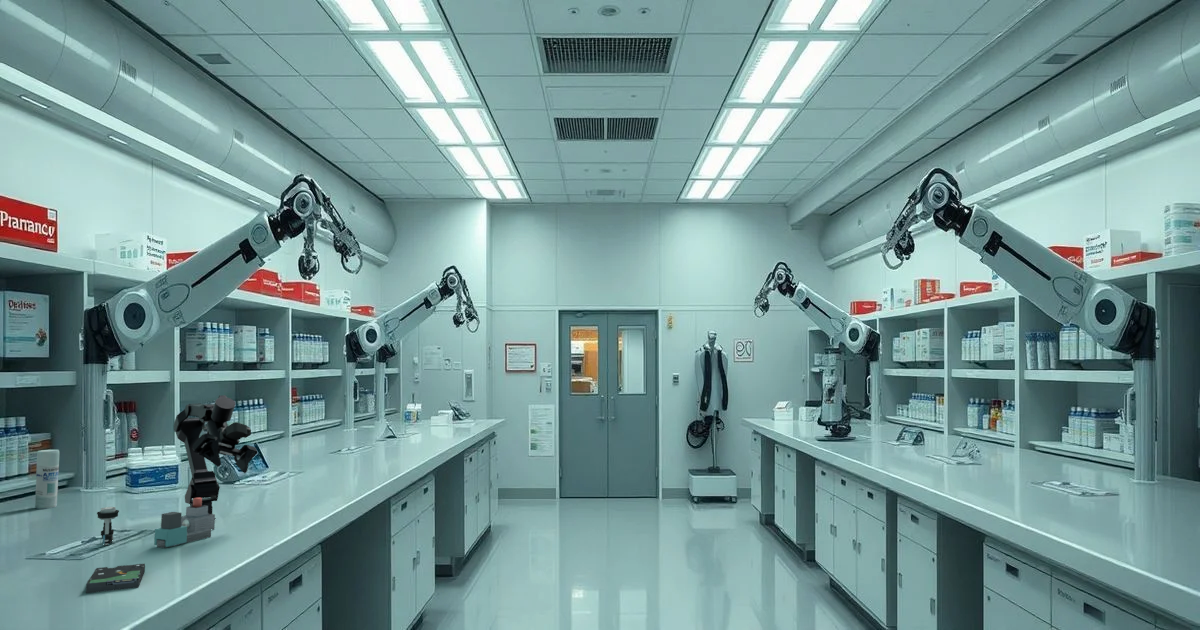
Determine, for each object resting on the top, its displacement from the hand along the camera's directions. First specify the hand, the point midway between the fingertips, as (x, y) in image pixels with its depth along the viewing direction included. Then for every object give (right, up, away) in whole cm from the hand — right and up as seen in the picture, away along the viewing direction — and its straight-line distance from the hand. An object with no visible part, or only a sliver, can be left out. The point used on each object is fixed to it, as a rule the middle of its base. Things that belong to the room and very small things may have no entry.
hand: (232, 468), depth 228 cm
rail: (-9, -19, -10) cm, 23 cm away
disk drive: (-3, -17, -50) cm, 53 cm away
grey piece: (-14, -20, +5) cm, 25 cm away
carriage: (-11, -18, -14) cm, 25 cm away
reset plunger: (-14, -13, +5) cm, 19 cm away
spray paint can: (-88, -23, +43) cm, 100 cm away
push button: (-30, -19, -13) cm, 37 cm away
